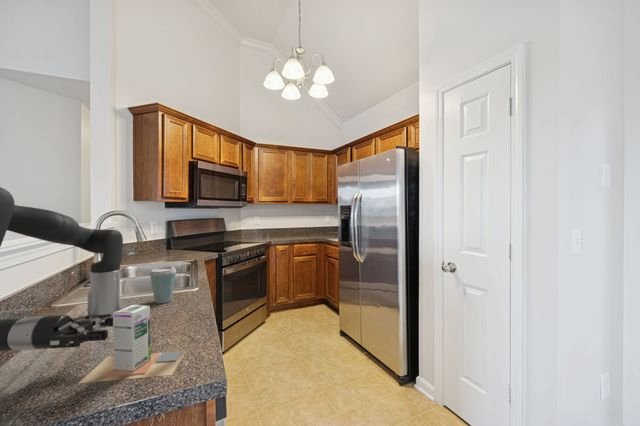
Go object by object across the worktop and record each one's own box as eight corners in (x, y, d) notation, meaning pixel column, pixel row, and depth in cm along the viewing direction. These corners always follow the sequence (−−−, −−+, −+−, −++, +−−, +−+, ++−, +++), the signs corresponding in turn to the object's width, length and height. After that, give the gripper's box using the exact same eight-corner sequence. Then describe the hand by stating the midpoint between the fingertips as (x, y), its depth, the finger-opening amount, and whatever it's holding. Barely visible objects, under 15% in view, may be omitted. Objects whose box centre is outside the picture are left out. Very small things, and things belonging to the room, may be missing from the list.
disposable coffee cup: (161, 306, 120) (161, 271, 120) (143, 303, 124) (143, 269, 124) (181, 299, 130) (181, 266, 130) (164, 296, 134) (164, 265, 134)
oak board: (77, 387, 64) (77, 383, 64) (107, 360, 76) (107, 356, 76) (171, 379, 68) (171, 374, 68) (186, 354, 80) (186, 350, 80)
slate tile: (155, 362, 73) (155, 361, 73) (162, 353, 78) (162, 352, 78) (176, 361, 74) (176, 360, 74) (181, 351, 79) (181, 350, 79)
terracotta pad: (103, 377, 67) (103, 376, 67) (123, 358, 76) (123, 357, 76) (145, 373, 68) (145, 372, 68) (159, 355, 77) (159, 354, 77)
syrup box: (133, 372, 69) (133, 312, 69) (112, 369, 69) (112, 311, 69) (151, 359, 74) (151, 305, 74) (131, 358, 75) (131, 303, 75)
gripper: (16, 328, 61) (100, 323, 64) (63, 307, 75) (130, 303, 78) (16, 363, 61) (100, 356, 64) (62, 335, 75) (129, 330, 78)
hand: (116, 327), depth 71 cm, fingers open, 8 cm apart
